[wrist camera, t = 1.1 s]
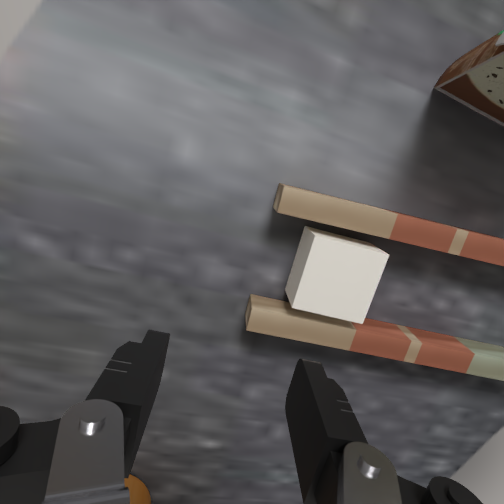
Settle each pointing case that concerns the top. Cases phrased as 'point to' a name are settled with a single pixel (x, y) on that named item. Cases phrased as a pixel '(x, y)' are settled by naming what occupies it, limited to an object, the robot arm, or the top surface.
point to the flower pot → (137, 491)
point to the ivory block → (334, 275)
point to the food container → (478, 79)
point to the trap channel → (372, 331)
